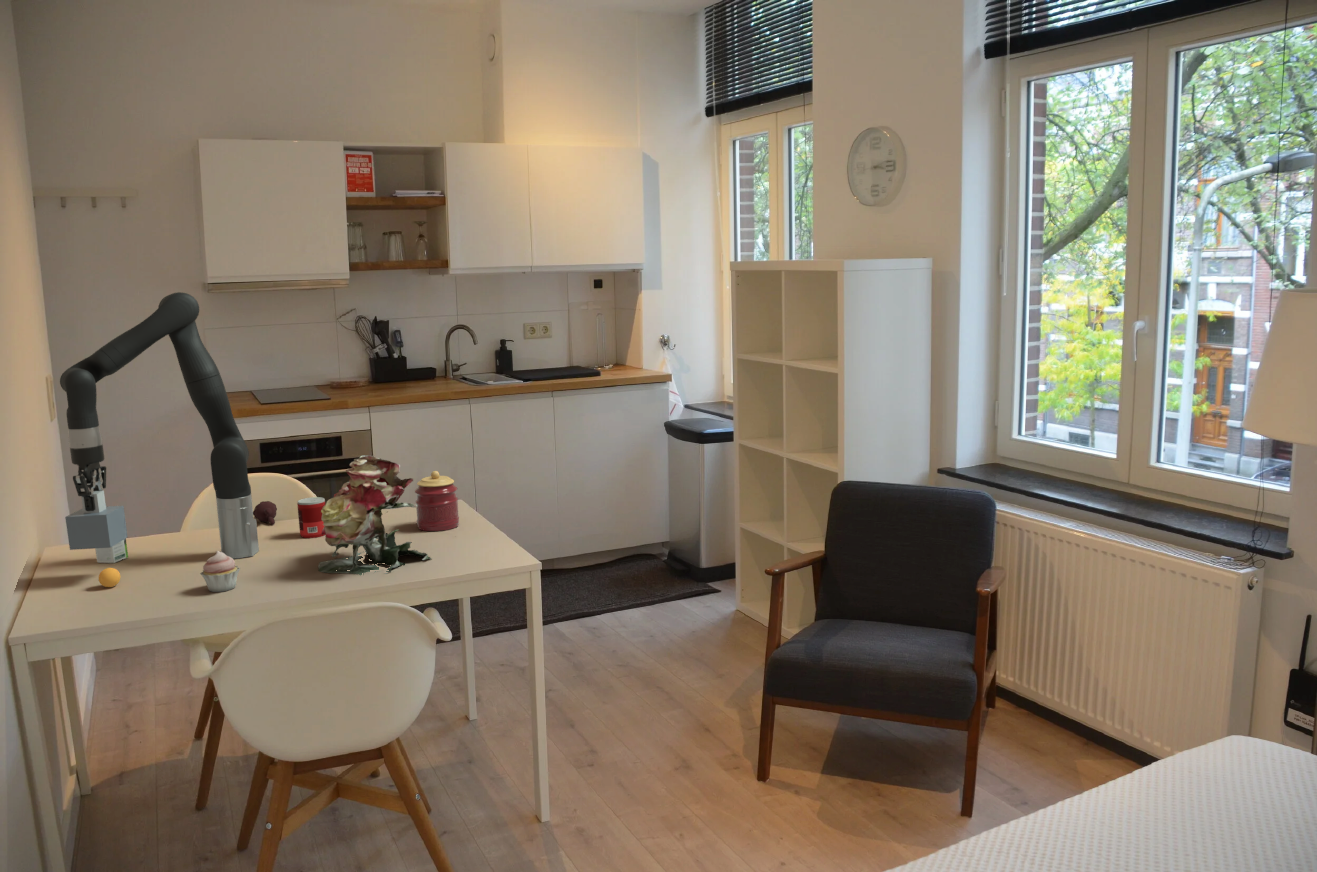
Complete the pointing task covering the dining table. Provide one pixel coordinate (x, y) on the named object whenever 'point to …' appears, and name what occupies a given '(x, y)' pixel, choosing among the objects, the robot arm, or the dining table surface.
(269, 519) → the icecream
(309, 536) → the canned food
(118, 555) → the syrup box
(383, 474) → the rose bouquet
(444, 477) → the canister
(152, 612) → the dining table surface
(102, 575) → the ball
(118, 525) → the cube with small cube
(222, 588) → the cupcake
